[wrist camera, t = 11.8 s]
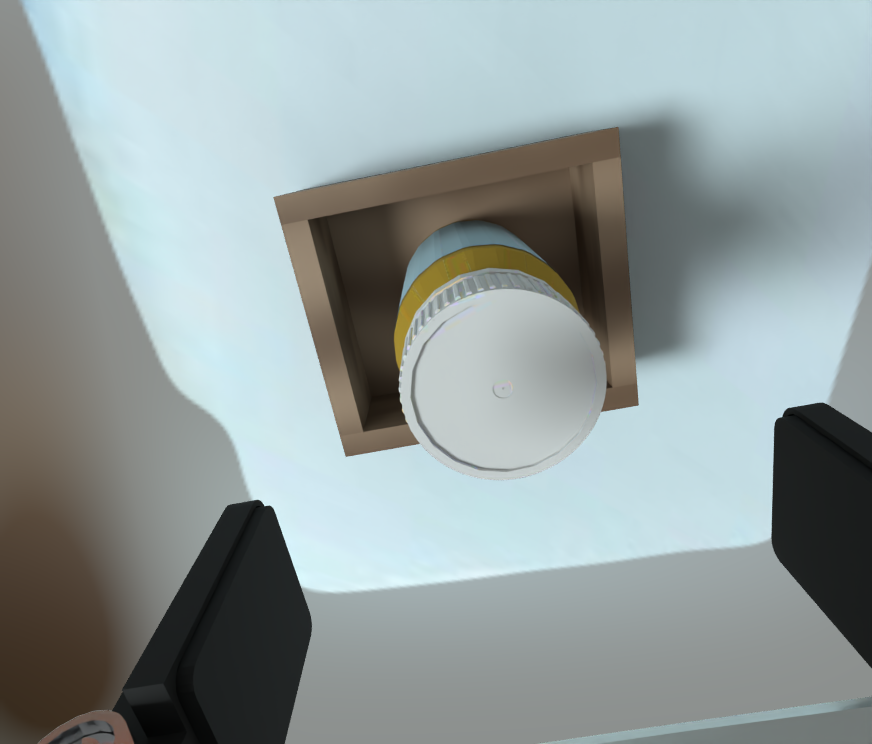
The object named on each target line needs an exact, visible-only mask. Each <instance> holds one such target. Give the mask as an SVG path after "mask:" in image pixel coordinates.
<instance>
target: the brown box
mask: <svg viewBox="0 0 872 744" xmlns="http://www.w3.org/2000/svg"><path fill="white" fill-rule="evenodd" d="M274 201H275V205H276V208H277V212H278V215H279V219H280V222H281V226H282V230H283V233H284V237H285V240H286V244H287V248H288V251H289V255H290V258H291V262H292V265H293V269H294V273H295V276H296V280H297V283H298V287H299V291H300V294H301V298H302V301H303V305H304V309H305V312H306V316H307V319H308V323H309V326H310V330H311V334H312V337H313V341H314V344H315V348H316V352H317V355H318V359H319V362H320V366H321V369H322V373H323V377H324V380H325V384H326V387H327V391H328V395H329V398H330V402H331V405H332V409H333V413H334V416H335V420H336V423H337V427H338V430H339V434H340V438H341V441H342V445H343V448H344V452H345V456H346V457H348V456H353V455H359V454H365V453H370V452H376V451H382V450H387V449H393V448H399V447H404V446H410V445H416V444H420V443H419V442H418V440H417V439H416V438H415V436H414V434H413V433H412V432H411V430H410V427H409V425H408V423H407V422H406V420H405V418H406V417H405V414H404V413H403V411H402V403H401V402H400V392H399V383H400V382H399V375H400V370H399V368H398V365H397V361H396V354H395V345H394V330H395V324H396V319H397V314H398V310H399V305H400V300H401V295H402V290H403V286H404V281H405V276H406V272H407V267H408V265H409V262H410V260H411V258H412V256H413V255H414V253H415V251H416V250H417V248H418V246H419V245H420V244H421V243H422V242H423V241H424V240H425V239H426V238H427V237H428V236H430V235H431V234H432V233H433V232H434V231H436V230H437V229H439V228H441V227H444V226H446V225H448V224H451V223H453V222H457V221H464V220H482V221H486V222H490V223H494V224H497V225H500V226H502V227H504V228H505V229H507V230H508V231H510V232H511V233H513V234H515V235H516V236H517V237H518V238H519V239H521V240H522V241H523V242H524V243H525V244H526V245H527V246H528V247H530V248H531V249H532V250H533V251H534V252H535V253H536V254H537V255H539V256H540V257H541V258H542V259H543V260H544V261H545V262H546V263H547V264H549V265H550V266H551V267H552V268H553V269H554V270H555V271H556V272H557V274H558V275H559V276H560V277H561V279H562V280H563V281H564V283H565V284H566V285H567V286H568V288H569V289H570V290H571V292H572V294H573V296H574V298H575V301H576V303H577V306H578V309H579V312H580V314H581V315H582V317H583V318H584V319H585V320H586V321H587V322H588V323H589V327H590V328H591V329H592V330H593V331H594V332H595V337H596V338H597V339H598V341H599V342H600V348H601V350H602V351H603V354H604V355H603V357H604V361H605V364H606V366H605V367H606V378H607V383H606V394H605V399H604V403H603V407H602V410H601V412H603V411H609V410H615V409H620V408H626V407H632V406H637V405H639V404H638V390H637V376H636V363H635V349H634V335H633V321H632V307H631V293H630V280H629V266H628V252H627V238H626V224H625V211H624V197H623V183H622V169H621V155H620V142H619V128H618V127H616V128H610V129H604V130H598V131H592V132H586V133H581V134H576V135H571V136H566V137H561V138H556V139H551V140H546V141H541V142H537V143H532V144H527V145H522V146H517V147H512V148H507V149H502V150H497V151H492V152H487V153H483V154H478V155H473V156H468V157H463V158H458V159H453V160H448V161H443V162H438V163H433V164H428V165H424V166H419V167H414V168H409V169H404V170H399V171H394V172H389V173H384V174H379V175H374V176H369V177H365V178H360V179H355V180H350V181H345V182H340V183H335V184H330V185H325V186H320V187H315V188H311V189H306V190H301V191H297V192H292V193H288V194H284V195H280V196H276V197H274Z"/></svg>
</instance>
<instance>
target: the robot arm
mask: <svg viewBox="0 0 872 744" xmlns="http://www.w3.org/2000/svg"><path fill="white" fill-rule="evenodd" d="M772 545H773V549H774V552H775V554H776V556H777V558H778V559H779V561H780V562H781V563H782V564H783V566H784V567H785V568H786V569H787V570H788V571H789V573H790V574H791V575H792V576H793V577H794V578H795V580H796V581H797V582H798V583H799V584H800V585H801V586H802V588H803V589H804V590H805V591H806V592H807V594H808V595H809V596H810V597H811V598H812V599H813V600H814V601H815V603H816V604H817V605H818V606H819V608H820V609H821V610H822V611H823V612H824V613H825V614H826V616H827V617H828V618H829V619H830V620H831V621H832V623H833V624H834V625H835V626H836V627H837V628H838V630H839V631H840V632H841V633H842V634H843V635H844V637H845V638H846V639H847V640H848V641H849V642H850V643H851V645H853V647H854V648H855V649H856V651H857V652H858V653H859V654H860V655H861V656H862V658H863V659H864V660H865V661H866V662H867V663H868V665H869V666H870V667H871V668H872V432H870V431H869V430H867V429H865V428H864V427H862V426H861V425H859V424H857V423H856V422H854V421H853V420H851V419H849V418H848V417H846V416H845V415H843V414H842V413H840V412H838V411H837V410H835V409H834V408H832V407H831V406H829V405H827V404H825V403H815V404H810V405H804V406H798V407H792V408H788V409H787V410H785V412H784V414H783V417H782V418H778V419H777V420H776V422H775V427H774V462H773V501H772ZM311 631H312V622H311V616H310V612H309V609H308V606H307V603H306V601H305V598H304V595H303V592H302V589H301V586H300V583H299V580H298V577H297V575H296V572H295V569H294V566H293V563H292V560H291V557H290V554H289V552H288V549H287V546H286V543H285V540H284V537H283V534H282V531H281V528H280V526H279V523H278V520H277V517H276V514H275V512H274V509H273V508H272V507H271V506H264V504H263V503H262V502H261V501H260V500H254V501H248V502H243V503H237V504H232V505H228V506H227V507H226V508H225V510H224V512H223V514H222V515H221V517H220V519H219V521H218V522H217V524H216V526H215V528H214V529H213V531H212V533H211V535H210V537H209V538H208V540H207V542H206V543H205V545H204V547H203V549H202V550H201V552H200V554H199V556H198V558H197V559H196V561H195V563H194V565H193V566H192V568H191V570H190V571H189V573H188V575H187V577H186V578H185V580H184V582H183V584H182V585H181V587H180V589H179V591H178V593H177V594H176V596H175V598H174V600H173V601H172V603H171V605H170V606H169V608H168V610H167V612H166V614H165V616H164V617H163V619H162V621H161V622H160V624H159V626H158V628H157V629H156V631H155V633H154V635H153V636H152V638H151V640H150V642H149V643H148V645H147V647H146V649H145V650H144V652H143V654H142V656H141V657H140V659H139V661H138V663H137V665H136V666H135V668H134V670H133V671H132V674H131V675H130V677H129V678H128V680H127V682H126V684H125V686H124V687H123V689H122V691H123V693H122V694H121V696H120V698H119V700H118V701H117V703H116V705H115V707H114V708H113V710H112V711H110V710H101V711H93V712H90V713H87V714H84V715H81V716H78V717H76V718H74V719H72V720H70V721H68V722H67V723H65V724H63V725H61V726H59V727H58V728H56V729H55V730H54V731H52V732H51V733H50V734H48V735H47V736H46V737H44V738H43V739H42V740H41V741H40V742H39V743H38V744H285V740H286V736H287V731H288V727H289V723H290V719H291V715H292V711H293V707H294V703H295V698H296V694H297V691H298V686H299V682H300V678H301V674H302V670H303V666H304V662H305V658H306V653H307V649H308V645H309V641H310V637H311ZM539 744H872V697H865V698H858V699H851V700H843V701H836V702H829V703H822V704H815V705H807V706H800V707H793V708H786V709H778V710H771V711H763V712H756V713H749V714H742V715H735V716H727V717H720V718H714V719H706V720H699V721H692V722H685V723H678V724H672V725H664V726H657V727H650V728H643V729H636V730H629V731H622V732H615V733H609V734H601V735H594V736H587V737H580V738H573V739H567V740H559V741H553V742H546V743H539Z"/></svg>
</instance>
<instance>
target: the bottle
mask: <svg viewBox="0 0 872 744" xmlns="http://www.w3.org/2000/svg"><path fill="white" fill-rule="evenodd" d="M394 345H395V354H396V361H397V365H398V368H399V370H400V375H399V382H400V383H399V392H400V402H401V403H402V411H403V413H404V414H405V417H406V418H405V420H406V422H407V423H408V425H409V427H410V430H411V432H412V433H413V434H414V436H415V438H416V439H417V440H418V442H419V443H420V444H421V445H422V447H423V448H424V449H425V450H426V451H427V452H428V453H429V454H430V455H431V456H433V457H434V458H435V459H436V460H438V461H439V462H440V463H442V464H444V465H445V466H447V467H449V468H451V469H453V470H455V471H457V472H459V473H462V474H465V475H468V476H471V477H476V478H481V479H488V480H510V479H517V478H523V477H527V476H530V475H534V474H537V473H539V472H542V471H544V470H546V469H548V468H550V467H552V466H554V465H556V464H558V463H559V462H561V461H562V460H564V459H565V458H566V457H568V456H569V455H570V454H571V453H573V452H574V451H575V450H576V449H577V448H578V447H579V446H580V445H581V444H582V442H583V441H584V440H585V439H586V438H587V436H588V435H589V433H590V432H591V431H592V429H593V427H594V426H595V424H596V422H597V420H598V418H599V415H600V413H601V410H602V407H603V403H604V399H605V394H606V383H607V378H606V367H605V366H606V364H605V361H604V357H603V355H604V354H603V351H602V350H601V348H600V342H599V341H598V339H597V338H596V337H595V332H594V331H593V330H592V329H591V328H590V327H589V323H588V322H587V321H586V320H585V319H584V318H583V317H582V315H581V314H580V312H579V309H578V306H577V303H576V301H575V298H574V296H573V294H572V292H571V290H570V289H569V288H568V286H567V285H566V284H565V283H564V281H563V280H562V279H561V277H560V276H559V275H558V274H557V272H556V271H555V270H554V269H553V268H552V267H551V266H550V265H549V264H547V263H546V262H545V261H544V260H543V259H542V258H541V257H540V256H539V255H537V254H536V253H535V252H534V251H533V250H532V249H531V248H530V247H528V246H527V245H526V244H525V243H524V242H523V241H522V240H521V239H519V238H518V237H517V236H516V235H515V234H513V233H511V232H510V231H508V230H507V229H505V228H504V227H502V226H500V225H497V224H494V223H490V222H486V221H482V220H464V221H457V222H453V223H451V224H448V225H446V226H444V227H441V228H439V229H437V230H436V231H434V232H433V233H432V234H431V235H430V236H428V237H427V238H426V239H425V240H424V241H423V242H422V243H421V244H420V245H419V246H418V248H417V250H416V251H415V253H414V255H413V256H412V258H411V260H410V262H409V265H408V267H407V272H406V276H405V281H404V286H403V290H402V295H401V300H400V305H399V310H398V314H397V319H396V324H395V330H394Z"/></svg>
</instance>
